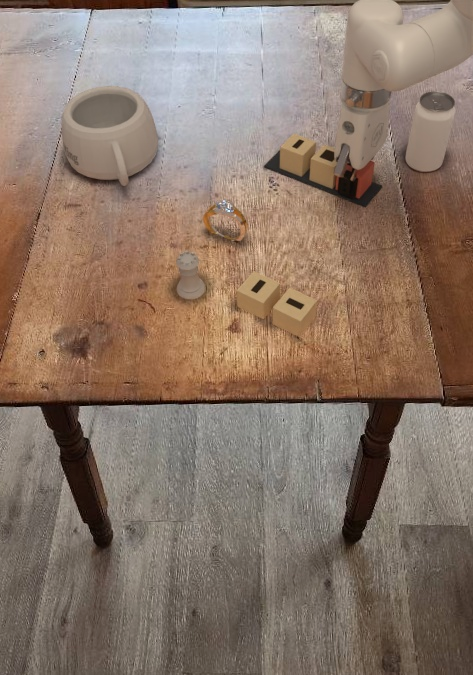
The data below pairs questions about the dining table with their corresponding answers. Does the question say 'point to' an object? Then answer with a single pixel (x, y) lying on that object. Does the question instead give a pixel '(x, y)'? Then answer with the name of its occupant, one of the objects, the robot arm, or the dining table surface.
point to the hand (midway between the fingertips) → (353, 185)
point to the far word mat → (305, 179)
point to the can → (430, 131)
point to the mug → (109, 133)
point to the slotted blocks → (276, 303)
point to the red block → (362, 178)
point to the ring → (227, 210)
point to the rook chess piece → (189, 276)
